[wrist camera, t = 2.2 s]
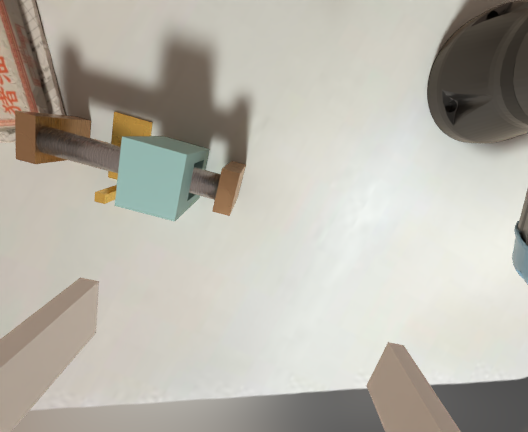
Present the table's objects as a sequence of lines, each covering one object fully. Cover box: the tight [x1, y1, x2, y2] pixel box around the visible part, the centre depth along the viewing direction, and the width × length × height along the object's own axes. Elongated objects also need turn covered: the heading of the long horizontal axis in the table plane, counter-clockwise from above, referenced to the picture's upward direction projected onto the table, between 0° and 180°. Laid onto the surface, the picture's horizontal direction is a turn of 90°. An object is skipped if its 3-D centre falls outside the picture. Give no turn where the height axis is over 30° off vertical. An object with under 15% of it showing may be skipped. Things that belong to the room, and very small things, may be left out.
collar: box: [115, 136, 209, 221], centre depth 29 cm, size 6×7×10 cm
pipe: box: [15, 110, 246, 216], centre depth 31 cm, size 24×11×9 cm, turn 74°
